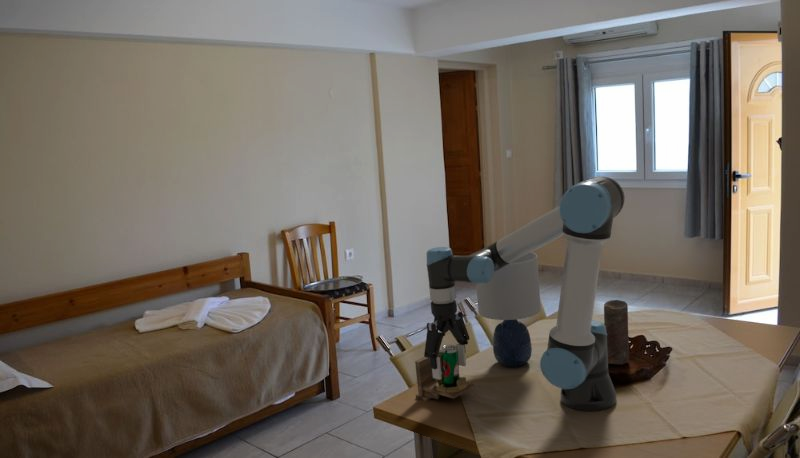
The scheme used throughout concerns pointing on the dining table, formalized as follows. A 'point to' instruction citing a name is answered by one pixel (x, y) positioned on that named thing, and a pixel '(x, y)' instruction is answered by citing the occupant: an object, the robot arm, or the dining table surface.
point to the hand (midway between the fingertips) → (449, 371)
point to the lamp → (511, 308)
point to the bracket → (436, 382)
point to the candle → (617, 331)
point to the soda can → (450, 366)
